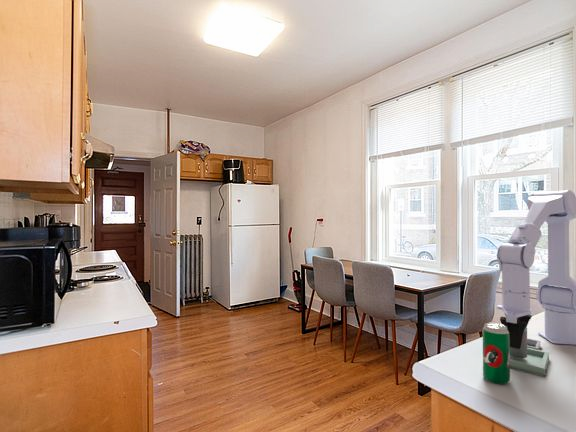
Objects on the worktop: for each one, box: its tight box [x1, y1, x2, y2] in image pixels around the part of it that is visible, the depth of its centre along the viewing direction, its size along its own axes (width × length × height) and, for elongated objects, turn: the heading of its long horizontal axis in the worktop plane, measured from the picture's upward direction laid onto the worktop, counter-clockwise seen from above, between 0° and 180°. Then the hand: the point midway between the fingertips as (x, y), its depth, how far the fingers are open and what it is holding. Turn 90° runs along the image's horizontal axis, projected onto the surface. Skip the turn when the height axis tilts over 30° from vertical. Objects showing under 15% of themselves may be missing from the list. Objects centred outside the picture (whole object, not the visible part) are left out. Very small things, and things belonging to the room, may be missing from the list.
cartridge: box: [510, 327, 528, 358], centre depth 81 cm, size 4×4×7 cm
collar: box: [527, 338, 541, 350], centre depth 90 cm, size 7×7×2 cm
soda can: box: [482, 322, 511, 385], centre depth 72 cm, size 5×5×12 cm
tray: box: [510, 348, 550, 378], centre depth 81 cm, size 12×12×2 cm
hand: (516, 344), depth 81 cm, fingers closed on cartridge, 4 cm apart
